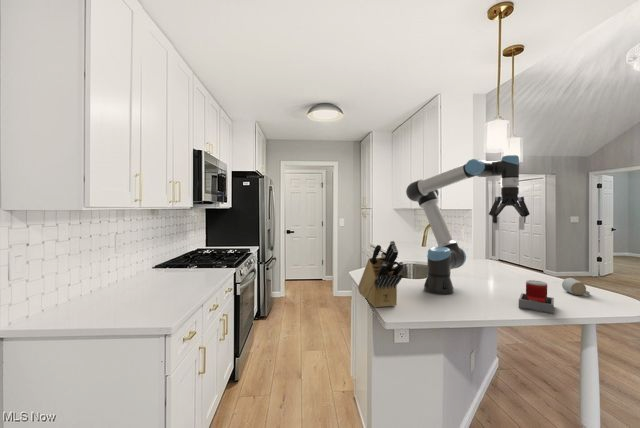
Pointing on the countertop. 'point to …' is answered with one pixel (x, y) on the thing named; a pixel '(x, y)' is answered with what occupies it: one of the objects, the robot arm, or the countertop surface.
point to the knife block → (381, 278)
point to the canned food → (536, 291)
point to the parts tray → (536, 304)
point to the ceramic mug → (574, 286)
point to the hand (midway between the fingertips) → (509, 229)
